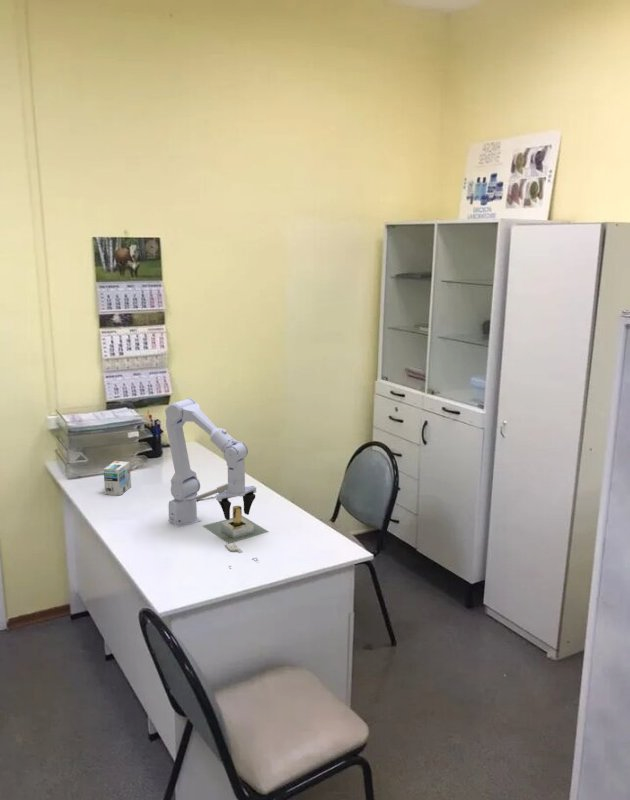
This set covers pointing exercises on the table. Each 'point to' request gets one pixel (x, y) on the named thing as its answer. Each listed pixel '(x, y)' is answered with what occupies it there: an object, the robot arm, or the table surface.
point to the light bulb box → (117, 478)
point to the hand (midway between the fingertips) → (236, 516)
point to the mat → (217, 531)
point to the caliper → (213, 492)
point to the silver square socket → (237, 529)
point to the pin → (237, 516)
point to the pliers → (235, 549)
